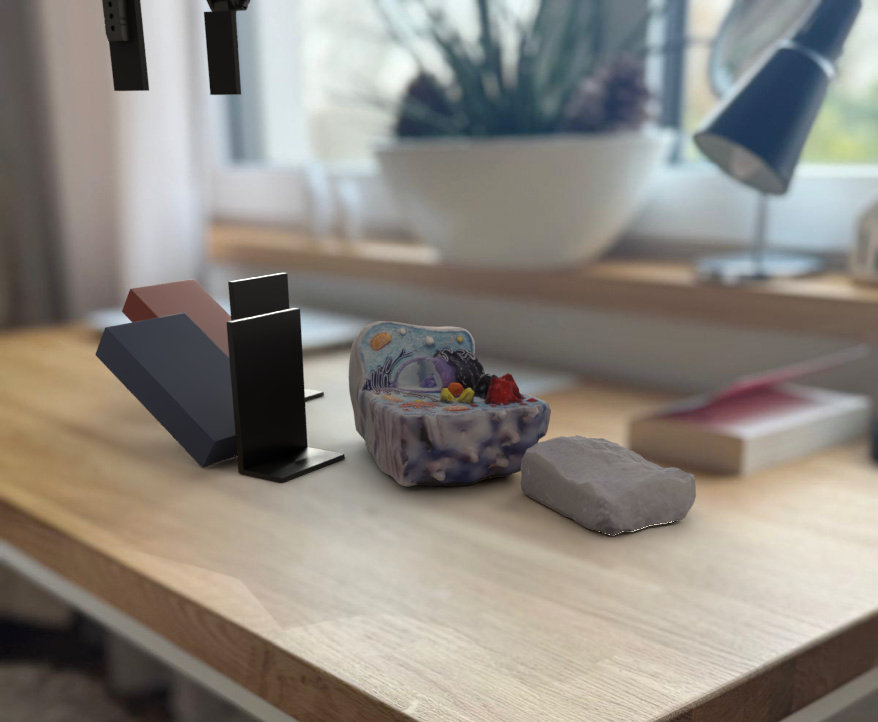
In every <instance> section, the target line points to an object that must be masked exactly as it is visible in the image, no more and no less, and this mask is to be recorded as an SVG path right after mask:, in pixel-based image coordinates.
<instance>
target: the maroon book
mask: <svg viewBox="0 0 878 722" xmlns="http://www.w3.org/2000/svg"><path fill="white" fill-rule="evenodd" d="M121 313H122V314H123V315H124V316H125V317H126V318H127V319H128V320H129V321H130V323H132V322H137V321H143V320H148V319H153V318H159V317H164V316H169V315H175V314H180V313H186V314H187V315H188V316H189V317H190V318H191V319H192V321H193V322H194V323H195V324H196V325H197V326H198V327H199V328H200V329H201V330H202V331H203V332H204V333H205V334H206V335H207V336H208V337H209V338H210V339H211V340H212V341H213V342H214V343H215V344H216V345H217V346H218V347H219V348H220V349H221V350H222V351H223V352H224V353H225V354H226V355H227V356H228V357H229V348H228V335H227V322H228V321H231V314H230V313H228V312H227V311H226V310H225V309H224V308H223V307H222V306H221V305H220V304H219V302H217V300H215V299H214V297H213V296H211V294H209V292H207V291H206V290H205V288H204V287H202V285H200V284H199V282H197V281H196V279H194V278H189V279H184V280H178V281H171V282H165V283H160V284H159V283H158V284H153V285H145V286H140V287H134V288H129V290H128V294H127V296H126V298H125V302H124V304H123V306H122V310H121Z"/></svg>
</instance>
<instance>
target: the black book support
mask: <svg viewBox="0 0 878 722" xmlns="http://www.w3.org/2000/svg"><path fill="white" fill-rule="evenodd" d="M301 316H302V315H301V308H299V307H292V308H290V309H287V310H283V311H278V312H273V313H268V314H263V315H258V316H253V317H248V318H243V319H238V320H233V321H228V322H227V335H228V348H229V360H230V373H231V385H232V397H233V410H234V422H235V435H236V447H237V456H236V458H237V460H236V461H237V471H238V474H239V475H244V476H249V477H252V478H257V479H262V480H267V481H271V482H275V483H279V484H280V483H281V484H282V483H285V482H287V481H291V480H293V479H296V478H298V477H300V476H303V475H306V474H308V473H311V472H313V471H317V470H319V469H321V468H324V467H327V466H329V465H332V464H334V463H337V462H339V461H342V460H344V459H346V454H345V453H341V452H335V451H332V450H331V451H330V450H325V449H320V448H315V447H309V446H308V431H307V429H308V428H307V412H306V411H307V409H306V401H305V390H304V389H305V374H304V372H305V371H304V356H303V355H304V353H303V338H302V319H301V318H302V317H301Z"/></svg>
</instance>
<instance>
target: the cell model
mask: <svg viewBox="0 0 878 722" xmlns="http://www.w3.org/2000/svg"><path fill="white" fill-rule="evenodd" d="M475 353H476V341H475V339H474V336H473V335H472V334H471V333H470V331H469V330H467V329H466V328H463V327H458V326H453V325H452V326H450V325H445V326H427V325H426V326H425V325H424V326H423V325H415V324H411V323H405V322H399V321H390V320H389V321H388V320H379V321H374V322H372V323H370V324H368V325H366V326H364V327H363V328H362V329H361V330H360V332H359V333H358V334H357V336H356V337H355V338H354V340H353V341H352V345H351V348H350V353H349V354H350V355H349V360H348V361H349V362H348V391H349V397H350V402H351V407H352V411H353V418H354V419H353V421H354V426H355V430H356V432H357V433H358V435H359V436H361V438H362V439H363V440H364V446H365V447H366V449H367V450H368V451H369V453H370V454H371V455H372V458H373V461H374V463H375V464H376V465H377V468H378V469H379V470H380V471H381V472H382V473H383V474H386V475H389V476H390V477H391V478H393V480H395V482H396V483H397V484H398V485H400V486H403V487H407V488H408V487H409V488H410V487H412V486H432V487H452V486H457V487H459V486H468V485H469V486H470V485H473V484H476V483H479V482H481V481H483V480H487V479H493V478H503V477H508V476H512V475H514V474H517V473H519V472H521V463H522V461H521V460H522V458H523V457H524V454H525V452H526V450H527V449H528V448H531V447H532V446H534V445H535V444H536V443H539V442H540V439H543V438H544V437H545V436H546V435H547V432H548V429H549V425H550V419H551V413H552V410H551V406H550V404H549V403H548V402H547V401H545V400H543V399H540V398H538V397H535V396H532V395H530V394H527V393H523V392H522V393H521V391H520V388H519V386H518V384H517V383H516V381H515V378H514V377H513V374H512V373H508V372H506V373H505V374H503V375H501V376H500V377H499V376H498V375H496V374H490V373H485V369H484V366H483V364H482V363H481V361H480V360H479V358H478V357H477V356H476V354H475Z"/></svg>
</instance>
